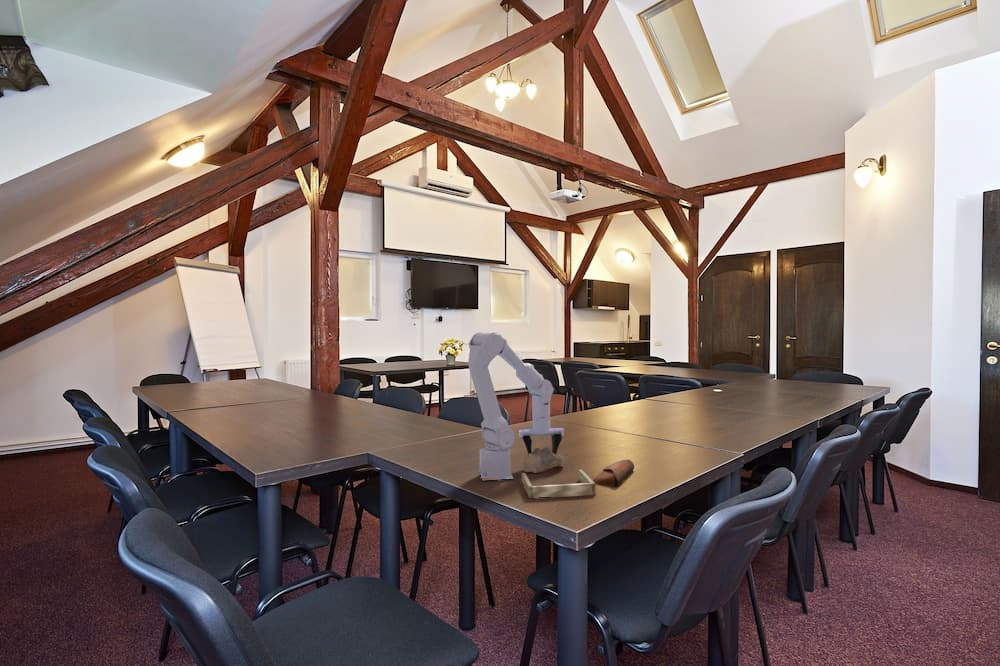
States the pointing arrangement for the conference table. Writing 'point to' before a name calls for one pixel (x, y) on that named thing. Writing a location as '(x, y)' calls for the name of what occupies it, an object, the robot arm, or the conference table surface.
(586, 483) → the box
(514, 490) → the conference table surface
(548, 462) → the rock
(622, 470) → the sunglasses case
